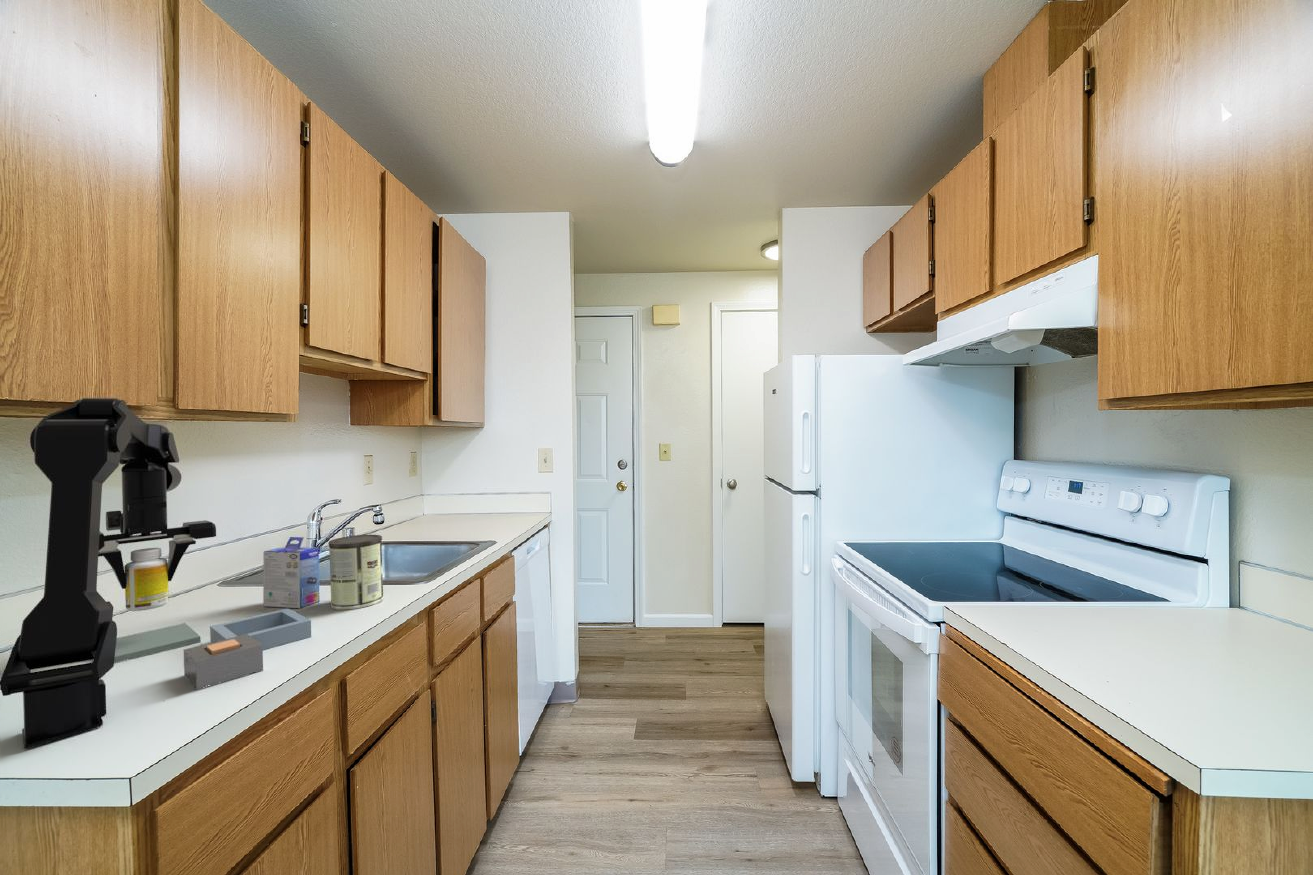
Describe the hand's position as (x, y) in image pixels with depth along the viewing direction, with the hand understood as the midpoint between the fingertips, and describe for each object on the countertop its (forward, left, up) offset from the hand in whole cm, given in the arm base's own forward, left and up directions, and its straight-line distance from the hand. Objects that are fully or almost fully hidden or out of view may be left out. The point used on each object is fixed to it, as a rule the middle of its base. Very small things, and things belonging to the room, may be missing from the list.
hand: (147, 584), depth 95 cm
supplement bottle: (0, 0, -4) cm, 4 cm away
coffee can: (+33, -5, -11) cm, 35 cm away
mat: (0, 0, -11) cm, 11 cm away
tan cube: (+5, -26, -10) cm, 28 cm away
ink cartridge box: (+24, +6, -11) cm, 27 cm away
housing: (+13, -14, -11) cm, 22 cm away
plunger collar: (+5, -26, -11) cm, 29 cm away
